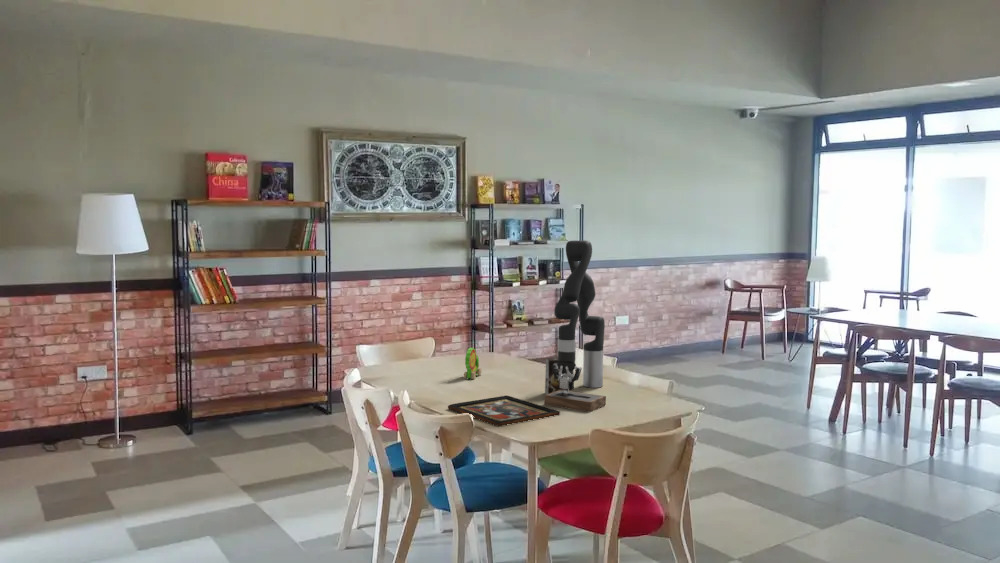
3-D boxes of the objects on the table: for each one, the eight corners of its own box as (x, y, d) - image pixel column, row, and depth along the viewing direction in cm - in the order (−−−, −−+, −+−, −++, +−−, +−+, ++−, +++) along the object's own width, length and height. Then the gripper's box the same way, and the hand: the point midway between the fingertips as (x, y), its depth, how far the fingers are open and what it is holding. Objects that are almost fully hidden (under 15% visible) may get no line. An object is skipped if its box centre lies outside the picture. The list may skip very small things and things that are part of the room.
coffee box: (548, 396, 361) (548, 360, 360) (544, 393, 368) (545, 357, 366) (568, 395, 363) (568, 359, 362) (564, 392, 369) (564, 357, 368)
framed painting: (439, 411, 332) (440, 404, 332) (501, 399, 357) (501, 393, 357) (505, 430, 305) (505, 423, 305) (566, 416, 330) (566, 409, 330)
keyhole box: (560, 398, 356) (560, 389, 356) (605, 405, 344) (605, 396, 344) (544, 404, 345) (544, 395, 344) (590, 411, 332) (590, 402, 332)
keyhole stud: (563, 398, 350) (564, 377, 349) (572, 400, 347) (573, 378, 346) (558, 400, 346) (559, 378, 345) (567, 402, 343) (568, 379, 343)
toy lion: (471, 374, 410) (471, 344, 409) (482, 375, 409) (482, 345, 408) (461, 380, 395) (462, 349, 394) (472, 381, 394) (472, 350, 392)
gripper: (585, 350, 344) (585, 390, 345) (556, 347, 352) (556, 386, 353) (577, 352, 338) (576, 393, 339) (547, 349, 346) (547, 389, 347)
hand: (566, 389), depth 346 cm, fingers closed on keyhole stud, 4 cm apart
